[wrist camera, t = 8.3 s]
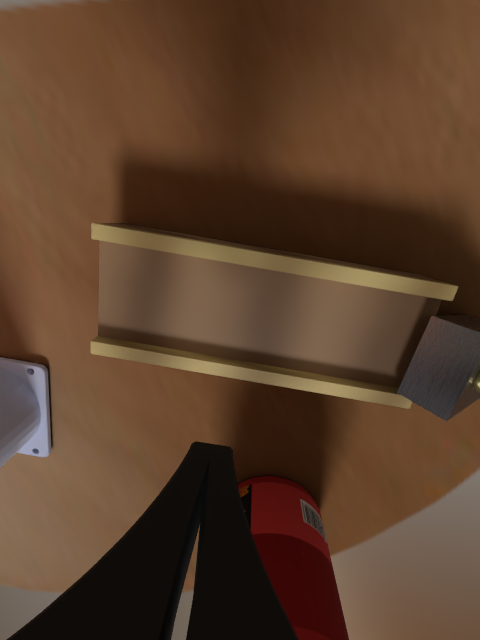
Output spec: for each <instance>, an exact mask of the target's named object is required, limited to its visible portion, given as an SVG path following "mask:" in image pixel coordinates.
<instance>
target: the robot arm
mask: <svg viewBox="0 0 480 640" xmlns="http://www.w3.org/2000/svg"><path fill="white" fill-rule="evenodd" d="M31 369H33V370H34V372H33V371H32V370H31ZM15 453H22V454H28V455H34V456H39V457H47V456H48V455H49V454H50V453H51V431H50V408H49V385H48V370H47V368H46V367H45V366H44V365H42V364H37V363H31V362H25V361H20V360H14V359H8V358H2V357H0V468H1V467H2V466H3V465H4V464H5V463H6V462H7V461H8V460H9V459H10V458H11V457H12V456H13V455H14V454H15ZM199 525H200V531H199V541H198V552H197V562H196V573H195V583H194V595H193V601H192V608H191V613H190V619H189V625H188V631H187V638H186V640H299V639H298V637H297V635H296V633H295V631H294V629H293V627H292V625H291V623H290V621H289V619H288V617H287V615H286V613H285V611H284V609H283V607H282V605H281V602H280V600H279V598H278V596H277V594H276V592H275V590H274V588H273V586H272V583H271V581H270V579H269V576H268V574H267V572H266V569H265V567H264V565H263V562H262V560H261V557H260V555H259V552H258V549H257V547H256V544H255V541H254V539H253V536H252V533H251V530H250V527H249V524H248V521H247V518H246V514H245V511H244V508H243V504H242V500H241V496H240V493H239V489H238V484H237V480H236V475H235V469H234V462H233V450H232V449H231V447H228V446H221V445H215V444H209V443H202V442H194V443H192V445H191V447H190V449H189V451H188V453H187V454H186V456H185V458H184V460H183V461H182V463H181V464H180V466H179V467H178V469H177V470H176V472H175V473H174V475H173V476H172V477H171V479H170V480H169V482H168V483H167V484H166V486H165V487H164V489H163V490H162V491H161V492H160V494H159V495H158V496H157V497H156V499H155V500H154V501H153V502H152V504H151V505H150V506H149V507H148V509H147V510H146V511H145V512H144V513H143V515H142V516H141V517H140V518H139V519H138V520H137V521H136V523H135V524H134V525H133V526H132V527H131V528H130V529H129V530H128V531H127V532H126V534H125V535H124V536H123V537H122V538H121V539H120V540H119V541H118V542H117V543H116V544H115V545H114V546H113V547H112V548H111V549H110V550H109V551H108V552H107V553H106V554H105V555H104V556H103V557H102V558H101V559H100V560H99V561H98V562H97V563H96V564H95V565H94V566H93V567H92V568H91V569H90V570H89V571H87V572H86V573H85V574H84V575H83V576H82V577H81V578H80V579H79V580H78V581H76V582H75V583H74V584H73V585H72V586H71V587H70V588H68V589H67V590H66V591H65V592H64V593H63V594H62V595H60V596H59V597H58V598H57V599H56V600H55V601H54V602H52V603H51V604H50V605H49V606H48V607H47V608H46V609H44V610H43V611H42V612H41V613H40V614H38V615H37V616H36V617H35V618H34V619H32V620H31V621H30V622H29V623H27V624H26V625H25V626H24V627H22V628H21V629H20V630H18V631H17V632H16V633H15V634H13V635H12V636H11V637H10V638H8V639H7V640H171V636H172V632H173V626H174V621H175V617H176V613H177V608H178V604H179V600H180V596H181V593H182V589H183V585H184V581H185V578H186V574H187V570H188V566H189V563H190V559H191V555H192V551H193V548H194V544H195V540H196V536H197V533H198V529H199Z"/></svg>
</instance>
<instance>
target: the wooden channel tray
mask: <svg viewBox="0 0 480 640" xmlns="http://www.w3.org/2000/svg"><path fill="white" fill-rule="evenodd" d="M91 239H95V240H100V249H99V317H98V337H96V338H95V339H93V340H92V341H91V354H96V355H102V356H108V357H114V358H119V359H125V360H131V361H137V362H142V363H148V364H154V365H160V366H166V367H171V368H177V369H183V370H189V371H194V372H200V373H206V374H212V375H217V376H223V377H229V378H235V379H240V380H246V381H252V382H258V383H264V384H269V385H275V386H281V387H287V388H292V389H298V390H304V391H310V392H315V393H321V394H327V395H333V396H338V397H344V398H350V399H356V400H361V401H367V402H373V403H379V404H385V405H390V406H396V407H402V408H408V409H410V406H411V404H412V401H411V400H409V399H407V398H405V397H404V396H402V395H400V394H398V393H397V391H398V389H399V387H400V385H401V382H402V380H403V378H404V376H405V374H406V371H407V369H408V367H409V365H410V363H411V360H412V358H413V356H414V354H415V351H416V349H417V347H418V345H419V343H420V340H421V338H422V336H423V334H424V332H425V329H426V327H427V325H428V323H429V321H430V318H431V316H436V314H437V311H438V309H439V306H440V304H441V301H442V300H448V301H453V299H454V296H455V294H456V292H457V289H458V287H459V286H455V285H452V284H449V283H446V282H442V281H439V280H436V279H433V278H429V277H426V276H423V275H420V274H415V273H409V272H403V271H398V270H392V269H386V268H380V267H375V266H369V265H363V264H357V263H351V262H346V261H340V260H334V259H328V258H322V257H317V256H311V255H305V254H299V253H293V252H288V251H282V250H276V249H270V248H264V247H259V246H253V245H247V244H241V243H235V242H230V241H224V240H218V239H212V238H207V237H201V236H195V235H189V234H183V233H178V232H172V231H166V230H160V229H154V228H149V227H143V226H137V225H131V224H125V223H92V234H91Z"/></svg>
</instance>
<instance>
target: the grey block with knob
mask: <svg viewBox="0 0 480 640" xmlns="http://www.w3.org/2000/svg"><path fill="white" fill-rule="evenodd" d="M397 393H398V394H400V395H402V396H404V397H405V398H407V399H409V400H411V401H412V402H414V403H416V404H418V405H419V406H421V407H423V408H425V409H426V410H428V411H430V412H432V413H433V414H435V415H437V416H439V417H440V418H442V419H444V420H446V421H448V420H449V419H451V418H452V417H454V416H455V415H456V414H458V413H459V412H461V411H462V410H463V409H465V408H466V407H468V406H469V405H471V404H472V403H473V402H475V401H476V400H478V399H479V398H480V318H477V317H474V316H471V315H468V314H464V315H437V316H431V318H430V321H429V323H428V325H427V327H426V329H425V332H424V334H423V336H422V338H421V340H420V343H419V345H418V347H417V349H416V351H415V354H414V356H413V358H412V360H411V363H410V365H409V367H408V369H407V371H406V374H405V376H404V378H403V380H402V382H401V385H400V387H399V389H398V391H397Z"/></svg>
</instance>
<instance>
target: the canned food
mask: <svg viewBox="0 0 480 640" xmlns="http://www.w3.org/2000/svg"><path fill="white" fill-rule="evenodd" d="M238 489H239V493H240V496H241V500H242V504H243V508H244V511H245V514H246V518H247V521H248V524H249V527H250V530H251V533H252V536H253V539H254V541H255V544H256V547H257V549H258V552H259V555H260V557H261V560H262V562H263V565H264V567H265V569H266V572H267V574H268V576H269V579H270V581H271V583H272V586H273V588H274V590H275V592H276V594H277V596H278V598H279V600H280V602H281V605H282V607H283V609H284V611H285V613H286V615H287V617H288V619H289V621H290V623H291V625H292V627H293V629H294V631H295V633H296V635H297V637H298V639H299V640H349V638H348V633H347V629H346V624H345V620H344V616H343V611H342V607H341V602H340V598H339V593H338V589H337V584H336V580H335V575H334V571H333V567H332V562H331V558H330V553H329V549H328V544H327V540H326V535H325V531H324V526H323V522H322V518H321V514H320V510H319V509H318V507H317V505H316V503H315V501H314V500H313V498H312V496H311V495H310V494H309V493H308V491H307V490H306V489H304V488H303V487H302V486H300V485H299V484H297V483H295V482H293V481H291V480H288V479H285V478H281V477H275V476H261V477H255V478H251V479H248V480H246V481H244V482H242V483H240V484H239V485H238Z"/></svg>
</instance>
